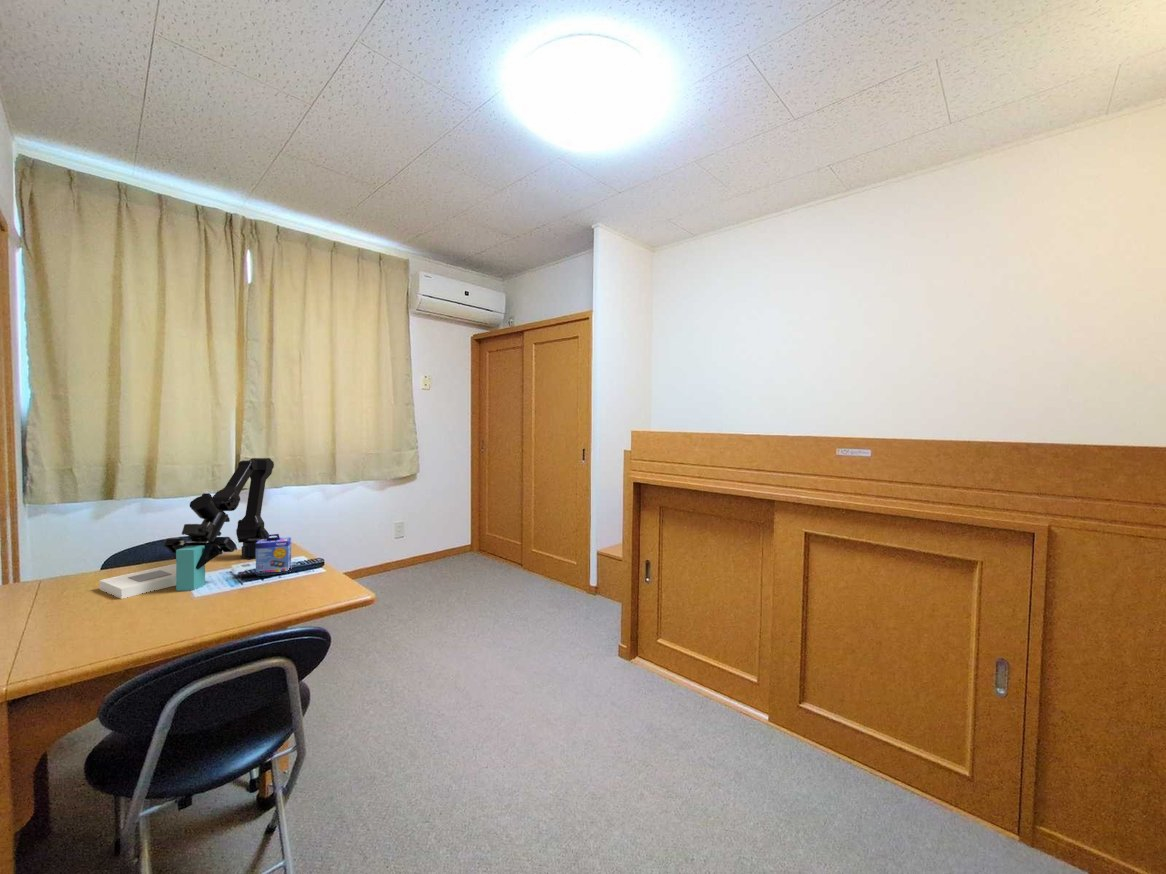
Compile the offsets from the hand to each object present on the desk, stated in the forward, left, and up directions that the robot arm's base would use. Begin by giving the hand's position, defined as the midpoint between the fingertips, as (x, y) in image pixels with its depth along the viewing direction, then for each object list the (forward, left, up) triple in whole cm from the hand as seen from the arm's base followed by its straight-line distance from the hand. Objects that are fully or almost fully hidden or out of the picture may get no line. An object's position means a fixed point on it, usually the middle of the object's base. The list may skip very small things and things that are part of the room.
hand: (187, 568), depth 141 cm
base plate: (+3, -16, -7) cm, 17 cm away
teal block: (-1, -1, -7) cm, 7 cm away
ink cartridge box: (-21, +8, -7) cm, 24 cm away
